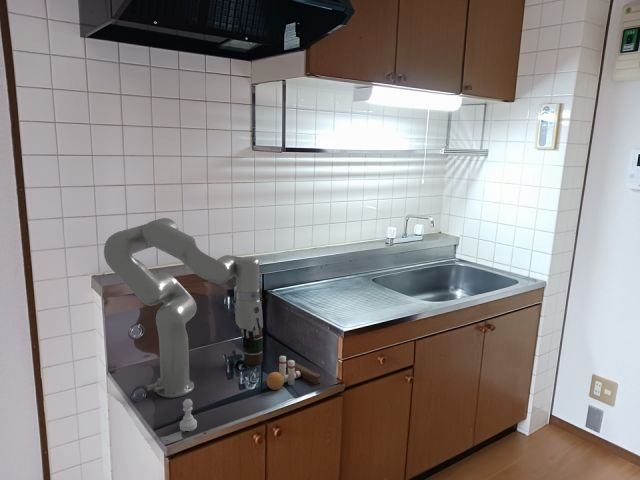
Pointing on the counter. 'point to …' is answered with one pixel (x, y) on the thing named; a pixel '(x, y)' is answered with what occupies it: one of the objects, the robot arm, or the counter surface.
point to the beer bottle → (255, 351)
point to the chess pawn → (188, 417)
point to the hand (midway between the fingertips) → (248, 347)
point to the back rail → (307, 373)
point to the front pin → (296, 375)
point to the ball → (275, 380)
